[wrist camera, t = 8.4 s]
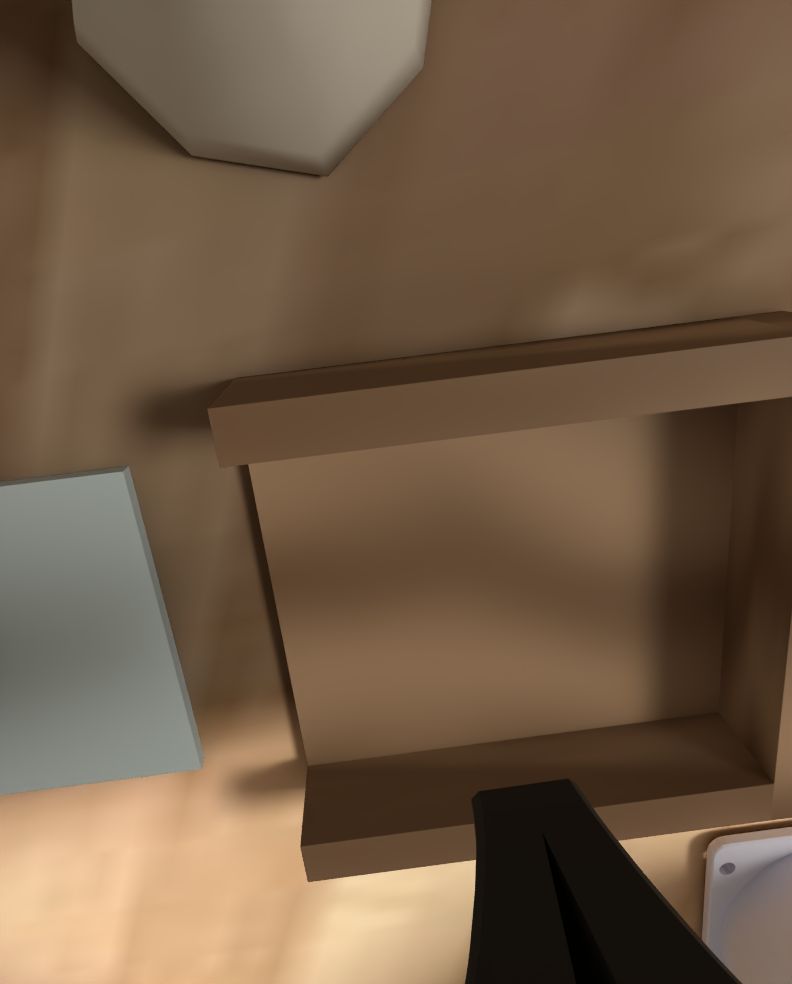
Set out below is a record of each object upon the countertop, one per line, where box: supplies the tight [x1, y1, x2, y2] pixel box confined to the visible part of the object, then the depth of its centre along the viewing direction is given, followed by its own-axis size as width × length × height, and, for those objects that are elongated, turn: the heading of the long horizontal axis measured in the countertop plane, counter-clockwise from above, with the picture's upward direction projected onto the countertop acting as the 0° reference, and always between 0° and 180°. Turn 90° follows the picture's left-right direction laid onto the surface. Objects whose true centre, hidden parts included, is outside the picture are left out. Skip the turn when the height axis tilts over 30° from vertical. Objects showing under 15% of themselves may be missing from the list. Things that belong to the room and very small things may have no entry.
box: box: [207, 311, 792, 882], centre depth 17 cm, size 12×13×3 cm
